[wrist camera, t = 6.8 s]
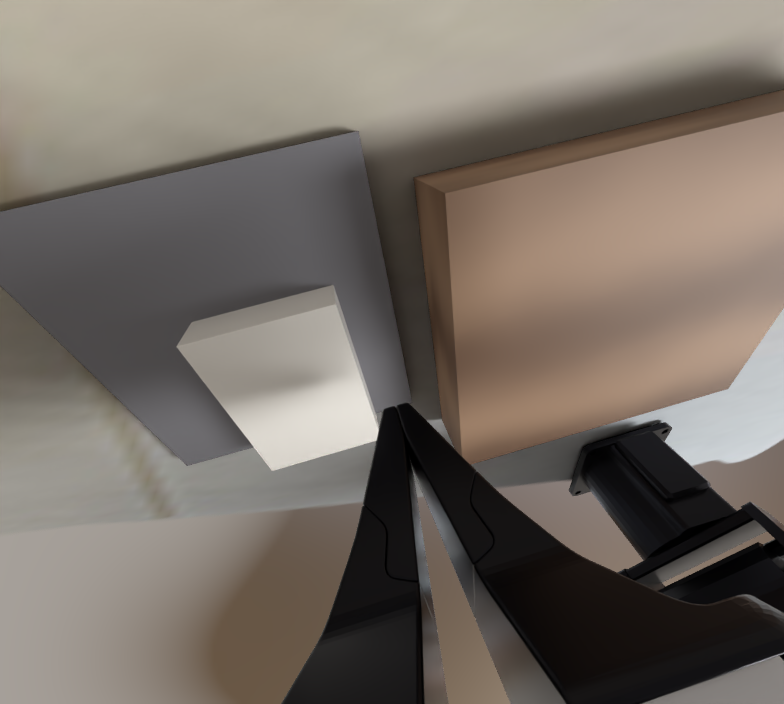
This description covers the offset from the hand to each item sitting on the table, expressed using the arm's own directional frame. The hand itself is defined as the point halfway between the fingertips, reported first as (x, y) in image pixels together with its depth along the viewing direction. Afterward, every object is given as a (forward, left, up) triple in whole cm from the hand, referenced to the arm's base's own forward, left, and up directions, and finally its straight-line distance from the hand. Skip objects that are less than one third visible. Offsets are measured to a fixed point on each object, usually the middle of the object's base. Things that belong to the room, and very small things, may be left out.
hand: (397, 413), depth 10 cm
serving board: (0, -9, -4) cm, 10 cm away
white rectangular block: (0, +3, -2) cm, 4 cm away
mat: (+2, +5, -4) cm, 6 cm away
